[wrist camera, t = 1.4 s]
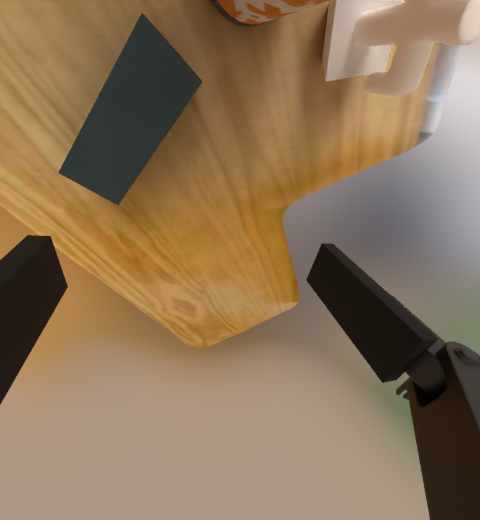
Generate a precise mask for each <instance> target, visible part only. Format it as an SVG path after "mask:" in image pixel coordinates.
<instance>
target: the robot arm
mask: <svg viewBox="0 0 480 520" xmlns="http://www.w3.org/2000/svg"><path fill="white" fill-rule="evenodd" d="M307 282H308V283H309V284H310V286H311V287H312V288H313V290H314V291H315V292H316V294H317V295H318V296H319V298H320V299H321V300H322V302H323V303H324V304H325V305H326V307H327V309H328V310H329V311H330V312H331V314H332V315H333V317H334V318H335V319H336V321H337V322H338V323H339V325H340V326H341V327H342V329H343V330H344V331H345V333H346V334H347V335H348V336H349V338H350V339H351V341H352V342H353V344H354V345H355V346H356V348H357V349H358V350H359V352H360V353H361V354H362V356H363V357H364V358H365V359H366V361H367V362H368V364H369V365H370V366H371V368H372V369H373V370H374V372H375V373H376V375H377V376H378V377H379V379H380V380H381V381H382V383H384V382H388V381H393V380H397V379H398V378H399V377H400V376H401V375H402V374H403V373H404V372H406V373H407V374H408V375H409V376H410V377H409V378H408V379H407V380H406V381H405V382H404V383H403V384H402V385H401V386H400V387H399V388H398V389H397V390H396V394H397V395H400V394H401V393H402V392H403V391H404V390H407V393H405V394H404V396H403V398H405V399H407V400H409V403H410V409H411V415H412V420H413V426H414V431H415V437H416V443H417V449H418V454H419V460H420V465H421V471H422V477H423V482H424V488H425V494H426V499H427V505H428V510H429V516H430V520H480V356H479V355H478V354H477V353H476V352H474V351H473V350H471V349H470V348H468V347H466V346H464V345H462V344H460V343H456V342H447V343H446V342H444V341H443V340H442V339H441V338H440V337H439V336H438V335H436V334H435V333H434V332H433V331H432V330H431V329H430V328H429V327H427V326H426V325H425V324H424V323H423V322H422V321H421V320H420V319H418V318H417V317H416V316H415V315H414V314H412V313H411V312H410V311H409V310H408V309H407V308H406V307H404V305H403V304H402V303H400V302H399V301H398V300H397V299H396V298H395V297H393V296H391V295H390V294H389V293H387V292H386V291H385V290H384V289H383V288H382V287H380V285H378V284H377V283H376V282H375V281H374V280H373V279H372V278H371V277H369V276H368V275H367V274H366V273H365V272H364V271H363V270H362V269H360V268H359V267H358V266H357V265H356V264H355V263H354V262H353V261H352V260H350V259H349V258H348V257H347V256H346V255H345V254H344V253H343V252H342V251H340V250H339V249H338V248H337V247H336V246H335V245H334V244H323V243H322V244H321V247H320V249H319V252H318V254H317V256H316V259H315V261H314V264H313V266H312V268H311V270H310V273H309V275H308V278H307ZM67 287H68V286H67V283H66V280H65V277H64V274H63V271H62V269H61V266H60V263H59V260H58V257H57V254H56V251H55V248H54V245H53V242H52V239H51V236H31V235H28V236H26V237H25V238H24V239H23V240H22V241H21V242H20V243H19V244H18V245H16V246H15V247H14V248H13V249H12V250H11V251H10V252H9V253H8V254H7V255H6V256H4V257H3V258H2V259H1V260H0V404H1V402H2V401H3V399H4V397H5V396H6V394H7V392H8V390H9V389H10V387H11V385H12V383H13V381H14V380H15V378H16V376H17V375H18V373H19V371H20V369H21V367H22V366H23V364H24V362H25V360H26V359H27V357H28V355H29V354H30V352H31V350H32V348H33V347H34V345H35V343H36V341H37V339H38V338H39V336H40V334H41V333H42V331H43V329H44V328H45V326H46V324H47V322H48V320H49V319H50V317H51V315H52V313H53V312H54V310H55V308H56V307H57V305H58V303H59V301H60V299H61V298H62V296H63V294H64V293H65V291H66V289H67Z"/></svg>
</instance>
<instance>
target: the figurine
mask: <svg viewBox="0 0 480 520" xmlns="http://www.w3.org/2000/svg"><path fill="white" fill-rule="evenodd" d="M403 2H404V0H330V2H329V6H328V14H327V22H326V31H325V39H324V48H323V56H322V65H323V70H324V76H325V81H326V82H327V81H333V80H339V79H345V78H351V77H357V76H363V75H369V74H371V75H369V76H368V77H367V78H366V79H365V81H364V84H363V87H364V90H365V91H366V92H369V93H375V94H381V95H387V96H404V95H407V94H409V93H411V92H413V91H414V90H415V89H416V88H417V86H418V85H419V83H420V81H421V79H422V76H423V73H424V71H425V68H426V65H427V62H428V60H429V57H430V54H431V52H432V49H433V46H434V44H435V43H436V42H441V43H442V44H443V45H445V46H451V45H468V44H471V43H473V42H475V41H476V40H478V39H479V38H480V0H407V1H406V3H403ZM392 45H395V46H396V49H395V53H394V56H393V60H392V63H391V67H390V70H389V71H388V72H385V68H386V64H387V61H388V57H389V53H390V50H391V46H392Z"/></svg>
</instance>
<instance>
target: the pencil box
mask: <svg viewBox="0 0 480 520" xmlns="http://www.w3.org/2000/svg"><path fill="white" fill-rule="evenodd" d="M201 83H202V80H201V79H200V78H199V77H198V76H197V75H196V74H195V72H194V71H193V70H192V69H191V68H190V67H189V66H188V64H187V63H186V62H185V61H184V60H183V59H182V58H181V56H180V55H179V54H178V53H177V52H176V51H175V50H174V48H173V47H172V46H171V45H170V44H169V43H168V42H167V40H166V39H165V38H164V37H163V36H162V35H161V34H160V32H159V31H158V30H157V29H156V28H155V27H154V26H153V24H152V23H151V22H150V21H149V20H148V19H147V18H146V16H145V15H144V14H143V13H142V14H141V16H140V18H139V19H138V21H137V23H136V25H135V27H134V29H133V31H132V33H131V35H130V37H129V39H128V40H127V42H126V44H125V46H124V48H123V50H122V52H121V54H120V56H119V58H118V60H117V62H116V63H115V65H114V67H113V69H112V71H111V73H110V75H109V77H108V79H107V81H106V83H105V84H104V86H103V88H102V90H101V92H100V94H99V96H98V98H97V100H96V102H95V104H94V106H93V107H92V109H91V111H90V113H89V115H88V117H87V119H86V121H85V123H84V125H83V127H82V129H81V130H80V132H79V134H78V136H77V138H76V140H75V142H74V144H73V146H72V148H71V150H70V151H69V153H68V155H67V157H66V159H65V161H64V163H63V165H62V167H61V169H60V171H59V173H60V174H61V175H63V176H65V177H67V178H69V179H71V180H73V181H74V182H76V183H78V184H80V185H82V186H84V187H86V188H87V189H89V190H91V191H93V192H95V193H97V194H99V195H100V196H102V197H104V198H106V199H108V200H110V201H112V202H113V203H115V204H117V205H119V203H120V202H121V200H122V199H123V197H124V196H125V194H126V193H127V191H128V190H129V188H130V187H131V186H132V184H133V183H134V181H135V180H136V178H137V177H138V175H139V174H140V172H141V171H142V169H143V168H144V166H145V165H146V164H147V162H148V161H149V159H150V158H151V156H152V155H153V153H154V152H155V150H156V149H157V147H158V146H159V144H160V143H161V142H162V140H163V139H164V137H165V136H166V134H167V133H168V131H169V130H170V128H171V127H172V125H173V124H174V122H175V121H176V120H177V118H178V117H179V115H180V114H181V112H182V111H183V109H184V108H185V106H186V105H187V103H188V102H189V100H190V99H191V98H192V96H193V95H194V93H195V92H196V90H197V89H198V87H199V86H200V84H201Z"/></svg>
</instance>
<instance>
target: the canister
mask: <svg viewBox="0 0 480 520" xmlns="http://www.w3.org/2000/svg"><path fill="white" fill-rule="evenodd" d="M211 1H212V3H213V4H214V6H215V7H216V8H217V10H218V11H219V12H220V13H221V14H222V15H223V16H224V17H225V18H226V19H228V20H229V21H231V22H233V23H235V24H237V25H240V26H255V25H258V24H261V23H264V22H267V21H270V20H273V19H276V18H278V17H281V16H284V15H287V14H290V13H293V12H296V11H299V10H302V9H305V8H308V7H311V6H314V5H317V4H320V3H322V2H325V1H328V0H211Z"/></svg>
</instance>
